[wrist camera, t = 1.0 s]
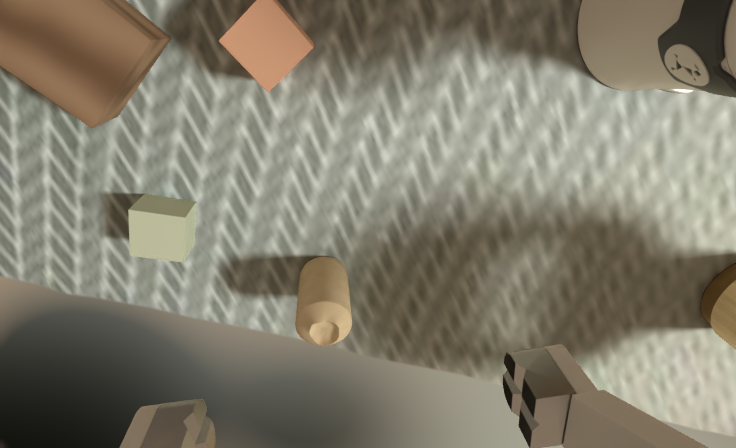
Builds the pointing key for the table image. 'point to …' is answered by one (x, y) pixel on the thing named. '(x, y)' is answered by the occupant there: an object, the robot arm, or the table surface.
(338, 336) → the candle
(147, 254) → the sage block
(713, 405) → the table surface
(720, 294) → the lamp
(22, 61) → the walnut block
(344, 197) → the table surface
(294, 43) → the terracotta block
